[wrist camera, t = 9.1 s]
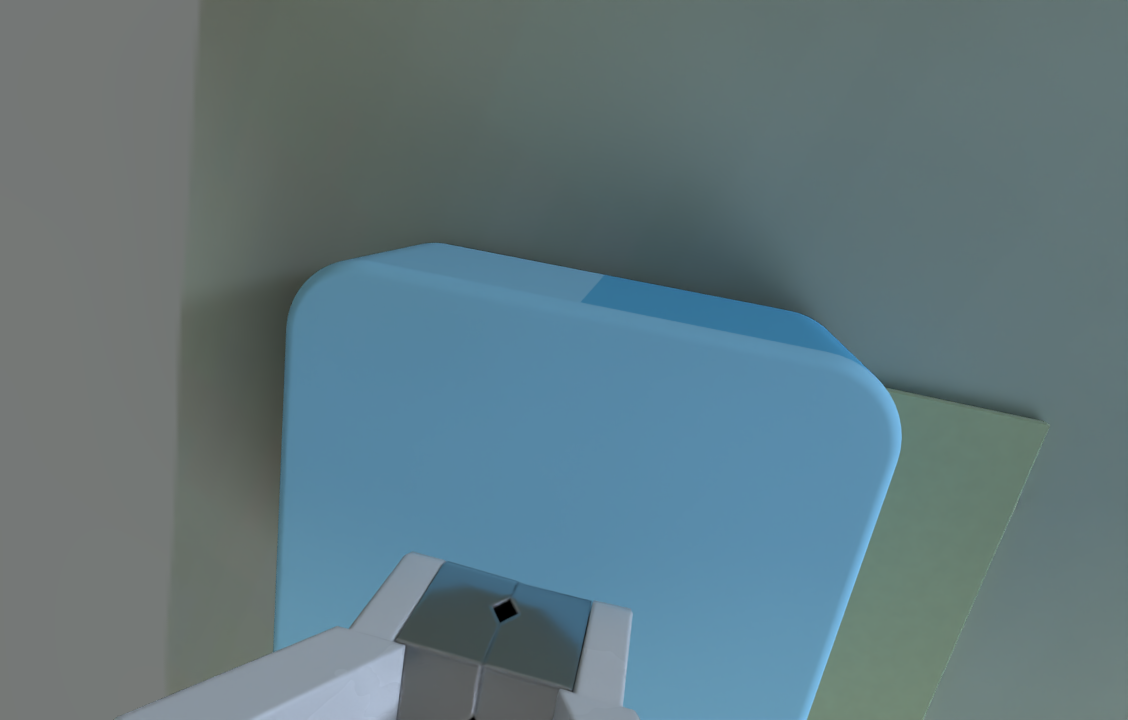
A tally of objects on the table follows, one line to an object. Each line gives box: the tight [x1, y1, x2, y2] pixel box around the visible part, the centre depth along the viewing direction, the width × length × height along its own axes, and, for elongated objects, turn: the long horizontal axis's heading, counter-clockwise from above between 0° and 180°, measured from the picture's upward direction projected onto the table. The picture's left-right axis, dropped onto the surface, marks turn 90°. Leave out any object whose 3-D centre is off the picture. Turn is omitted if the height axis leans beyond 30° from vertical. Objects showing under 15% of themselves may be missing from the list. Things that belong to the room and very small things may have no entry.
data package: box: [273, 243, 902, 720], centre depth 15 cm, size 12×4×12 cm
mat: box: [807, 388, 1050, 720], centre depth 18 cm, size 17×13×1 cm
